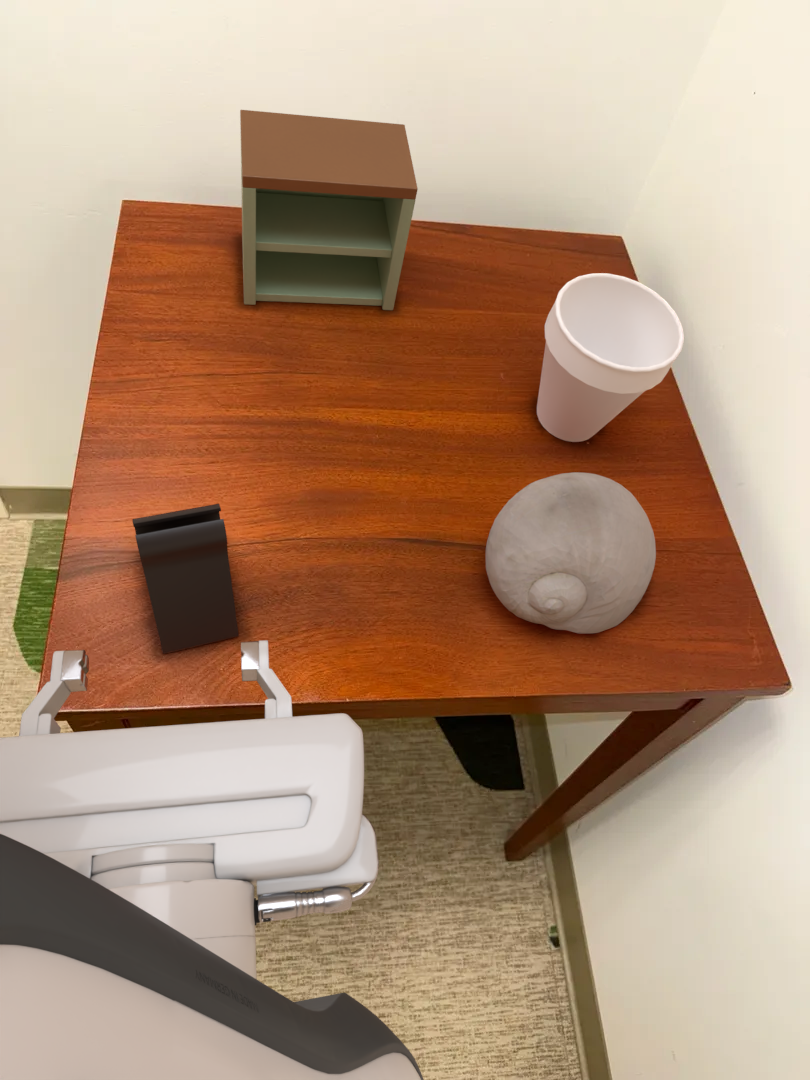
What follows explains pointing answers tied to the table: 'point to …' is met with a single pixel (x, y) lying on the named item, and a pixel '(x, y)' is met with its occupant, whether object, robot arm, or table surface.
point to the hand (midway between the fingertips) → (165, 648)
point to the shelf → (324, 208)
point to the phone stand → (188, 576)
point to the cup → (603, 352)
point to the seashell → (571, 553)
